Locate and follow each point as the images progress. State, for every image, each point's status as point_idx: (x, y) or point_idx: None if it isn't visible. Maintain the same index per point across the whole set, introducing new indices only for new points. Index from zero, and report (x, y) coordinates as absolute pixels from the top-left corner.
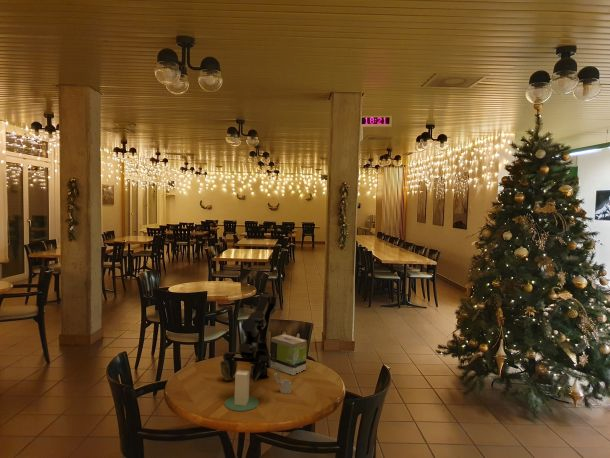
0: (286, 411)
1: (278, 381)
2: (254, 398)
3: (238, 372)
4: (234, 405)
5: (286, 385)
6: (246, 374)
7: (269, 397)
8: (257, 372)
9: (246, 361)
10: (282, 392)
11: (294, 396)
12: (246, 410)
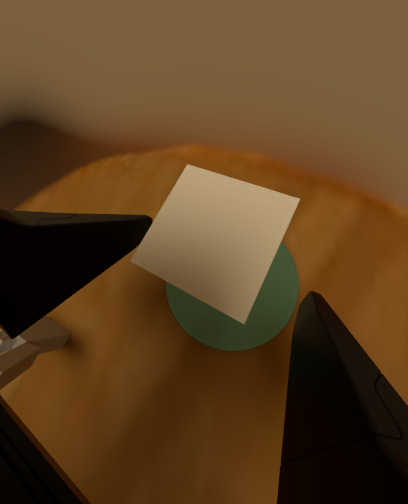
0: (112, 200)
1: (28, 348)
2: (173, 301)
3: (258, 235)
4: None
5: None
6: (184, 174)
7: (119, 304)
8: (80, 216)
9: (45, 454)
10: (64, 329)
11: None
12: None
